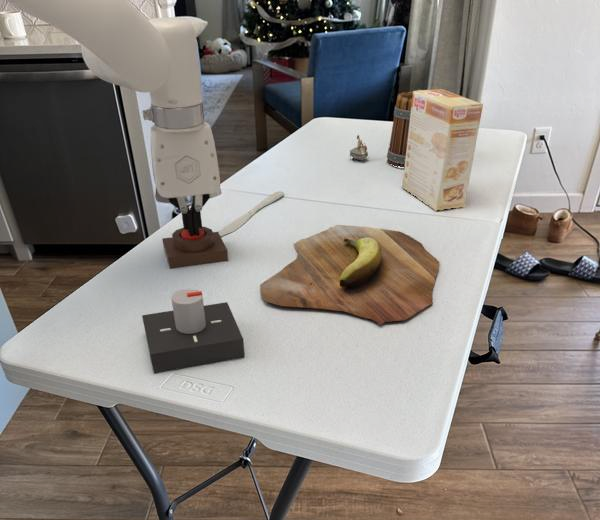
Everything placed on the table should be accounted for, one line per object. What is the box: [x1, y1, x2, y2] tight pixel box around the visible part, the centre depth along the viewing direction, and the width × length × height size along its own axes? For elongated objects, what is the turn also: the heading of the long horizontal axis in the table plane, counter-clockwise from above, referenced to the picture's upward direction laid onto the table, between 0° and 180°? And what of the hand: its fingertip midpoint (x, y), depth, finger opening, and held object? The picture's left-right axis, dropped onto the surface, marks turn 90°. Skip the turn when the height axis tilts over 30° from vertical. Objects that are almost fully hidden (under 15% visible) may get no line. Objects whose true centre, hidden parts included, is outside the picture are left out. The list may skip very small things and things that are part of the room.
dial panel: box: [141, 301, 245, 374], centre depth 78 cm, size 12×10×3 cm
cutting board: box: [259, 224, 441, 326], centre depth 96 cm, size 35×27×4 cm
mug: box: [386, 89, 422, 167], centre depth 139 cm, size 16×11×15 cm
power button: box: [181, 229, 205, 240], centre depth 99 cm, size 4×4×2 cm
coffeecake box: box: [401, 88, 484, 212], centre depth 117 cm, size 15×7×20 cm, turn 20°
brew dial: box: [170, 288, 206, 334], centre depth 76 cm, size 4×4×5 cm
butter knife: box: [217, 191, 285, 237], centre depth 115 cm, size 1×27×3 cm
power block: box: [161, 226, 229, 270], centre depth 100 cm, size 10×8×4 cm
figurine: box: [349, 134, 369, 161], centre depth 142 cm, size 5×4×6 cm
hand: (193, 232), depth 98 cm, fingers closed
